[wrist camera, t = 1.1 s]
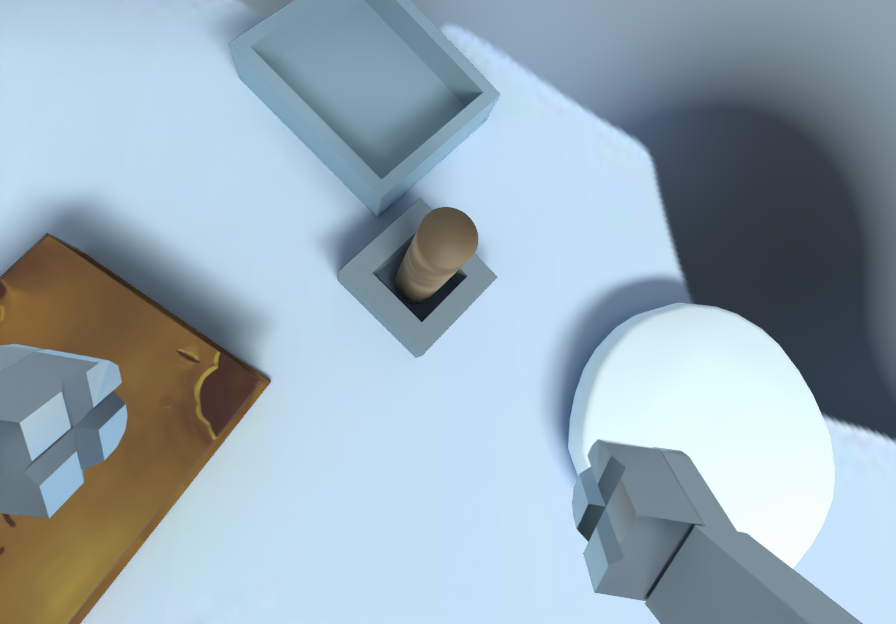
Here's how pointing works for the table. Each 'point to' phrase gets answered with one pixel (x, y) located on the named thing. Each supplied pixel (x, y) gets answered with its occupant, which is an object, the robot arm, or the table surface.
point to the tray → (365, 89)
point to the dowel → (435, 254)
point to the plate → (714, 417)
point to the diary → (145, 438)
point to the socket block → (388, 307)
